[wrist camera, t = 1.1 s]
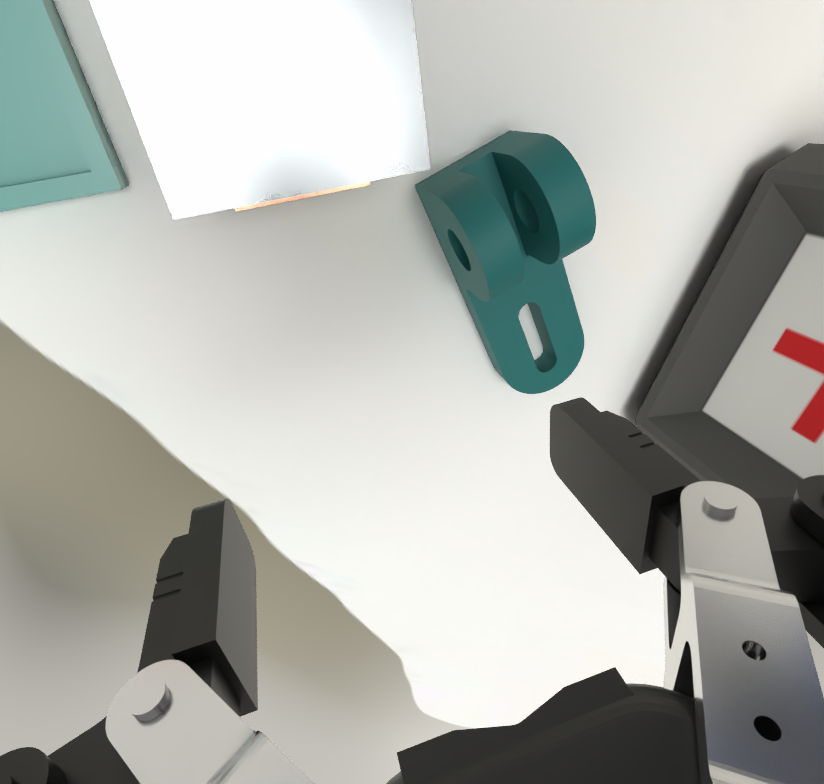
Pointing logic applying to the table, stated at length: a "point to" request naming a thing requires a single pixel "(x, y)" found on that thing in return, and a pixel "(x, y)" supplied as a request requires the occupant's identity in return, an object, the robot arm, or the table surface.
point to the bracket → (516, 249)
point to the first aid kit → (754, 346)
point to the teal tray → (47, 114)
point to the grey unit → (268, 96)
